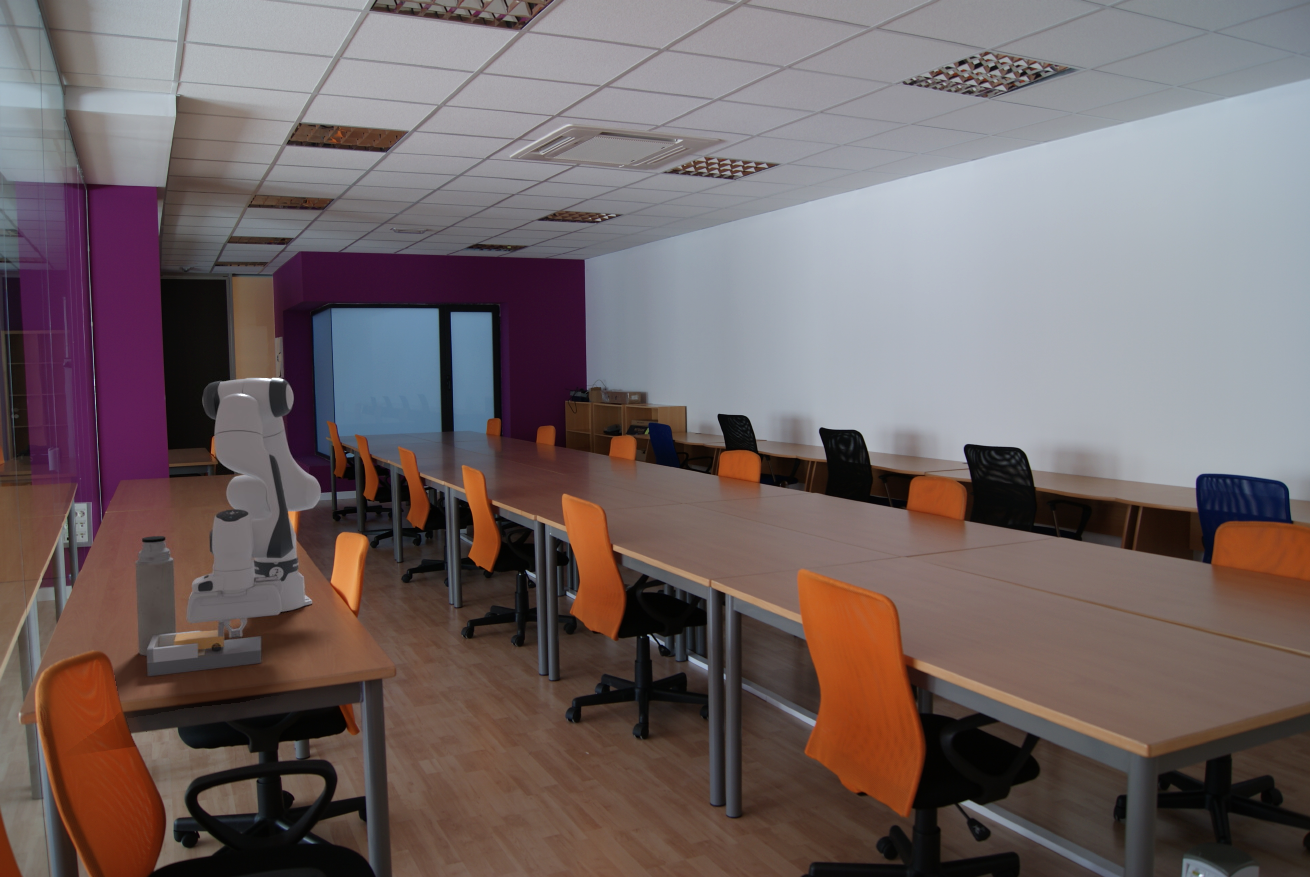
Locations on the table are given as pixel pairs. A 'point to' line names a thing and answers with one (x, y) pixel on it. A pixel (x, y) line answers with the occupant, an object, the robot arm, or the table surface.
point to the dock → (199, 655)
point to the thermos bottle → (154, 591)
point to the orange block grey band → (203, 638)
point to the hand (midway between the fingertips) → (235, 636)
